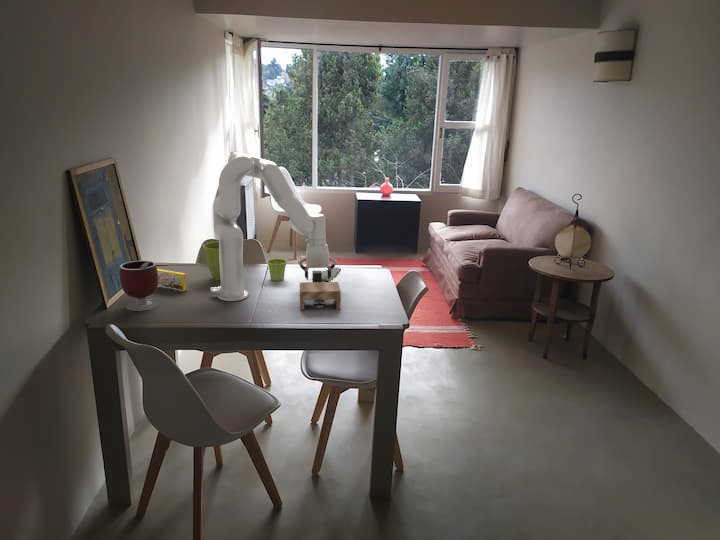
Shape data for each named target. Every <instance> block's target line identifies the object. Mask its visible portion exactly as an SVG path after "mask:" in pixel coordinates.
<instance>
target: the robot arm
mask: <svg viewBox="0 0 720 540" xmlns="http://www.w3.org/2000/svg"><path fill="white" fill-rule="evenodd" d="M245 176H248V177H252V178H255V179H259V180H261V181H262V182H263V184H264V186H265V187H266V188H267V190H268V191H269V193H270V195H271V197H272V199H273V200H274V201H275V203H276V204H277V206H279V207H280V209H282V210H283V211H284V212H285V213H286V215H287V216H288V217H289V222H288V224H289V227H290V228H291V229H292V230H293V231H295V232H297V233H298V234H300V235H303V236H307V235H308V238H307V239H305V243H307V244H306V245H307V246H306V251H305V252H306V254H305V255H306V256H305V257H304V258H301V259H300V260H298V261H297V263H298V265H299V267H300V268H301V269H302V270H303V271H304V278H305V279H306V281H308V280H309V269H321V268H322V269H324V268H326V269H328V279H330V277H331V270H332V269H333V268H336V265H337V263H338V260H337V259H335V258H333V257H331V256H330V250H329V247H328V244H327V237H326V226H327V225H326V215H325V214H323V213H317V212H316V213H310V214H309V213H308V211H307V210H306V208H305V207H304V205H303V203H302V202H301V201H300V200H299V198H298V196H297V195H296V194H295V193H294V191H293V189H292V187H291V186H290V184H289V183H288V180H287V179H286V177H285V176H284V174H283V172H282V170H281V169H280V167H279V166H278V164H277V163H276V162H274V161H271V160H267V159H264V158H260V157H257V156H253V155H250V154H247V153H244V152H241V151H236V152H235V151H234V152H233V153H231V154H230V155H229V157H228V159H227V163H226V164H225V165H224V166H223V168H222V170H221V171H220V174H219V179H218V195H217V196H216V197H215V199H214V202H213V209H212V210H213V213H212V214H213V230H214V231H213V232H214V235H215V237H216V238H217V239H218V242H219V262H220V279H221V280H220V286H218V287H217V286H214V287H213V286H211V287H210V293H212V294H217V298H218V300H220V301H225V302H234V301H235V302H237V301H243V300H245V299H246V298H248V297H249V293H248V291H247V290H245V278H244V277H245V276H244V257H243V256H244V255H243V250H244V247H243V246H244V233H243V231H242V229H241V227H240V226H239V225H238V224H237V219H238V217H239V216H240V214H241V210H242V209H241V208H242V206H241V186H242V182H243V179H244V177H245ZM330 262H332V264H331V265H330ZM303 263H306V265H304V264H303Z"/></svg>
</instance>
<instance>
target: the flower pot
mask: <svg viewBox="0 0 720 540" xmlns="http://www.w3.org/2000/svg"><path fill="white" fill-rule="evenodd" d="M202 247H203V252H204V253H203V254H204V257H205V261H206V264H207V267H208V271H209V272H210V275H211V277H212V279H213V278H214V279H218V280H217V281H221V279H220V262H219V241H210V242H207V243H205V244H203V245H202ZM214 279H213V280H214Z"/></svg>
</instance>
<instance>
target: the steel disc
mask: <svg viewBox="0 0 720 540" xmlns="http://www.w3.org/2000/svg"><path fill="white" fill-rule="evenodd" d="M326 307H327V303H326V301H314V302H313V308H315V309H324V308H326Z"/></svg>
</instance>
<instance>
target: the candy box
mask: <svg viewBox="0 0 720 540" xmlns="http://www.w3.org/2000/svg"><path fill="white" fill-rule="evenodd" d="M157 271H158V285H161V286H165V287H171V288H176V289H180V290H186V289H187V280H186V273H185V272H180V271H179V272H178V271H175V270H174V271H173V270H172V271H171V270H168V269H167V270H166V269H161V268H157Z"/></svg>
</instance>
